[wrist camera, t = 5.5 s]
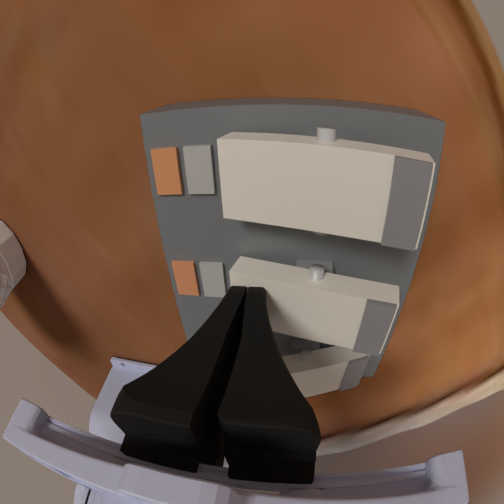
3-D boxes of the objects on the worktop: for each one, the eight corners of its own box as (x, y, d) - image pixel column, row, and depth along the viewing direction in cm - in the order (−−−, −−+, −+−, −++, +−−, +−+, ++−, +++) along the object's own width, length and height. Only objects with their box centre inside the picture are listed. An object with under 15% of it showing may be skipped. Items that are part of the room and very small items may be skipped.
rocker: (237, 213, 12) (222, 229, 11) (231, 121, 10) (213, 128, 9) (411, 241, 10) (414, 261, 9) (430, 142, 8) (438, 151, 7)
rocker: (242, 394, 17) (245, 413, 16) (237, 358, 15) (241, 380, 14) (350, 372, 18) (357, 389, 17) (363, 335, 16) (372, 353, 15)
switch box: (205, 334, 22) (193, 375, 19) (169, 104, 13) (133, 117, 10) (367, 341, 21) (374, 383, 17) (416, 109, 12) (452, 125, 9)
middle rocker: (244, 310, 16) (233, 328, 14) (240, 248, 13) (226, 265, 12) (380, 340, 13) (377, 362, 12) (401, 278, 11) (401, 300, 10)
